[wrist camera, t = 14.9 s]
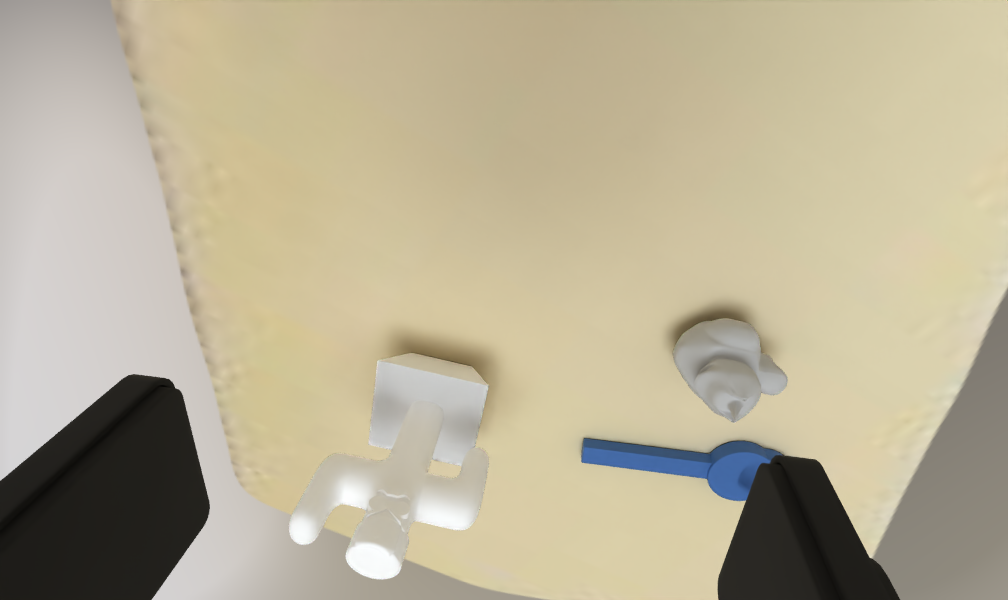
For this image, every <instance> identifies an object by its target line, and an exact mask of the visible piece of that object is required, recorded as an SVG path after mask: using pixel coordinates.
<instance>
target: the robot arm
mask: <svg viewBox="0 0 1008 600" xmlns="http://www.w3.org/2000/svg"><path fill="white" fill-rule="evenodd" d="M209 509H210V504H209V499H208V495H207V491H206V487H205V483H204V479H203V475H202V471H201V467H200V463H199V459H198V455H197V451H196V447H195V443H194V439H193V435H192V431H191V427H190V423H189V419H188V415H187V411H186V407H185V403H184V399H183V395H182V393H181V391H180V390H178V389H175V387H174V384H173V383H172V382H171V381H170V380H169V379H166V378H160V377H152V376H144V375H135V374H133V375H128V376H127V377H125V378H123V379H122V380H121V381H119V382H118V383H117V384H116V385H115V386H114V387H112V388H111V389H110V390H109V391H108V392H106V393H105V394H104V395H103V396H102V397H100V398H99V399H98V400H97V401H96V402H94V403H93V404H92V405H91V406H90V407H88V408H87V409H86V410H85V411H84V412H82V413H81V414H80V415H79V416H78V417H76V418H75V419H74V420H73V421H72V422H70V423H69V424H68V425H67V426H66V427H64V428H63V429H62V430H61V431H60V432H58V433H57V434H56V435H55V436H54V437H53V438H51V439H50V440H49V441H48V442H46V443H45V444H44V445H43V446H42V447H41V448H39V449H38V450H37V451H36V452H35V453H33V454H32V455H31V456H30V457H29V458H27V459H26V460H25V461H24V462H23V463H21V464H20V465H19V466H18V467H17V468H15V469H14V470H13V471H12V472H11V473H9V474H8V475H7V476H6V477H5V478H3V479H2V480H1V481H0V600H152V598H153V597H154V596H155V594H156V593H157V591H158V590H159V588H160V587H161V586H162V584H163V583H164V581H165V580H166V579H167V577H168V576H169V574H170V573H171V572H172V570H173V569H174V567H175V566H176V565H177V563H178V562H179V560H180V559H181V558H182V556H183V555H184V553H185V552H186V550H187V549H188V548H189V546H190V545H191V543H192V542H193V541H194V539H195V538H196V536H197V535H198V533H199V532H200V531H201V529H202V528H203V526H204V524H205V523H206V521H207V518H208V515H209ZM718 599H719V600H900V599H899V597H898V595H897V593H896V591H895V589H894V587H893V586H892V584H891V582H890V580H889V578H888V576H887V575H886V573H885V572H884V570H883V569H882V567H881V566H880V565H879V564H878V563H877V562H876V561H874V560H873V559H871V558H869V556H868V554H867V552H866V550H865V548H864V546H863V544H862V542H861V540H860V538H859V536H858V534H857V533H856V531H855V529H854V527H853V525H852V523H851V521H850V519H849V517H848V515H847V513H846V511H845V509H844V507H843V505H842V503H841V502H840V500H839V498H838V496H837V494H836V492H835V490H834V488H833V486H832V484H831V482H830V480H829V478H828V476H827V474H826V473H825V471H824V469H823V467H822V465H821V464H820V463H819V462H818V461H817V460H815V459H807V458H799V457H791V456H783V455H775V456H774V457H773V458H772V460H771V462H770V464H769V463H761V464H760V465H759V467H758V469H757V472H756V475H755V478H754V480H753V483H752V486H751V489H750V491H749V494H748V497H747V500H746V502H745V505H744V508H743V511H742V514H741V516H740V519H739V522H738V525H737V527H736V530H735V533H734V536H733V538H732V541H731V544H730V547H729V549H728V552H727V555H726V558H725V561H724V563H723V566H722V569H721V572H720V574H719V578H718Z"/></svg>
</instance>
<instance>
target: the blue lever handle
mask: <svg viewBox="0 0 1008 600" xmlns="http://www.w3.org/2000/svg"><path fill="white" fill-rule="evenodd" d="M775 455H782V454H781V453H779V452H777V451H775V450H772V449H765V448H762V447H761V446H759V445H757V444H755V443H751V442H746V441H734V442H729V443H726V444H723V445H721V446H719V447H717V448H716V449H714V450H713V451H712V452H711V453H710V454H706V453H698V452H690V451H682V450H674V449H666V448H658V447H650V446H642V445H634V444H626V443H618V442H610V441H603V440H595V439H587V438H584V441H583V447H582V453H581V462H582V463H589V464H597V465H605V466H612V467H620V468H628V469H636V470H643V471H651V472H659V473H666V474H674V475H682V476H690V477H697V478H705V479H707V480H708V483H709V486H710V488H711V489H712V490H713V491H714V492H715V493H716V494H717V495H719V496H721V497H723V498H725V499H729V500H734V501H745V500H747V497H748V494H749V491H750V489H751V486H752V483H753V480H754V478H755V475H756V472H757V469H758V467H759V465H760V464H761V463H769V464H770V462H771V460H772V458H773V457H774V456H775Z"/></svg>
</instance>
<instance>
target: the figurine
mask: <svg viewBox="0 0 1008 600" xmlns="http://www.w3.org/2000/svg"><path fill="white" fill-rule="evenodd" d="M488 387H489V385H488V384H487V383H486V382H485V381H484V380H483V379H482V377H481V376H480V375H479V374H478V373H477V372H476V370H475V369H474V368H473V367H472V366H467V365H463V364H459V363H455V362H450V361H446V360H442V359H437V358H433V357H429V356H424V355H420V354H416V353H408V354H404V355H399V356H394V357H390V358H385V359H381V360H378V362H377V371H376V380H375V389H374V398H373V407H372V416H371V426H370V435H369V444H368V445H372V446H377V447H381V448H385V449H390V450H391V453H390V455H389V458H387V459H385V460H380V461H377V460H372V459H367V458H363V457H359V456H355V455H350V454H346V453H334V454H332V455H330V456H328V457H327V458H326V459H325V460H324V461H323V462H322V463H321V464H320V466H319V467H318V469H317V470H316V472H315V474H314V475H313V477H312V479H311V481H310V482H309V484H308V486H307V488H306V490H305V491H304V493H303V495H302V497H301V499H300V500H299V502H298V504H297V506H296V508H295V509H294V511H293V513H292V516H291V519H290V522H289V533H290V536H291V538H292V539H293V540H294V541H295V542H296V543H298V544H302V545H306V544H310V543H312V542H313V541H314V540H315V539H316V538H317V536H318V535H319V533H320V531H321V530H322V528H323V526H324V524H325V521H326V520H327V518H328V516H329V514H330V513H331V512H332V510H333V509H334V508H335V507H337V506H338V505H341V504H345V505H349V506H354V507H358V508H361V509H364V510H365V511H366V513H365V515H364V517H363V519H362V521H361V522H360V523H359V524H358V525H357V527H356V529H355V532H354V534H353V537H352V539H351V542H350V544H349V547H348V549H347V552H346V560H347V562H348V564H349V565H350V567H351V568H352V569H354V570H355V571H356V572H358V573H360V574H361V575H364V576H366V577H369V578H374V579H389V578H392V577H394V576H396V575H397V574H398V573H399V572H400V570H401V567H402V563H403V560H404V557H405V554H406V551H407V547H408V544H409V537H408V532H409V528H410V525H411V524H412V523H413V522H414V521H418V522H422V523H426V524H431V525H435V526H439V527H443V528H448V529H452V530H465V529H467V528H469V527H471V526H472V524H473V523H474V522H475V520H476V518H477V516H478V513H479V510H480V507H481V503H482V498H483V493H484V488H485V483H486V478H487V473H488V467H489V457H488V454H487V452H486V451H485V450H484V449H482V448H479V447H475V444H476V440H477V435H478V431H479V427H480V422H481V418H482V414H483V409H484V405H485V400H486V396H487V392H488ZM432 459H433V460H437V461H441V462H445V463H450V464H454V465H458V466H462V467H461V471H460V474H459V475H458V476H457V477H455V478H449V477H445V476H440V475H436V474H432V473H428V469H429V466H430V463H431V460H432Z"/></svg>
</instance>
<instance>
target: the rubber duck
mask: <svg viewBox="0 0 1008 600" xmlns="http://www.w3.org/2000/svg"><path fill="white" fill-rule="evenodd" d="M673 358H674V362H675V365H676V367H677V368H678V370H679V372H680V373H681V375H682V377H683V378H684V380H685V381H686V383H687V384H688V386H689V387H690V389H691V390H692V391H693V392H694V393H695V394H696V395H697V396H698V397H699V398H701V399H702V400H703V401H704V403H705V404H706V405H707V406H708V407H709V408H710V409H711V410H712V411H713V412H714V413H716V414H718V415H720V416H723V417H725V418H727V419H728V420H730V421H731V422H736V421H738V420H739V419H741V418H743V417H744V416H745V415H747V414H748V413H749V412H750V411H751V410H752V409H753V408H754V407H755V405H756V404H757V402H758V401H759V398H760V396H761V393H764V394H768V395H777V394H779V393H781V392H782V391H783V390H784V389H785V387H786V385H787V381H788V380H787V376H786V374H785V373H784V372H783V371H782V370H781V369H780V368H779V367H778V366H777V365H776V364H775V363H774V362H773V360H772V358H771V357H770V356H769V355H767V354H765V353H761V346H760V339H759V335H758V333H757V332H756V330H755V329H754V327H753V326H752V325H750V324H749V323H746V322H742V321H737V320H733V319H728V318H722V319H717V320H714V321H703V322H700V323H698V324H696V325H695V326H693V327H692V328H690V329H689V330H687V331H686V332H684V333H683V334H682V335H681V336H680V338H679V340H678V341H677V343H676V345H675V348H674V350H673Z"/></svg>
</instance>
